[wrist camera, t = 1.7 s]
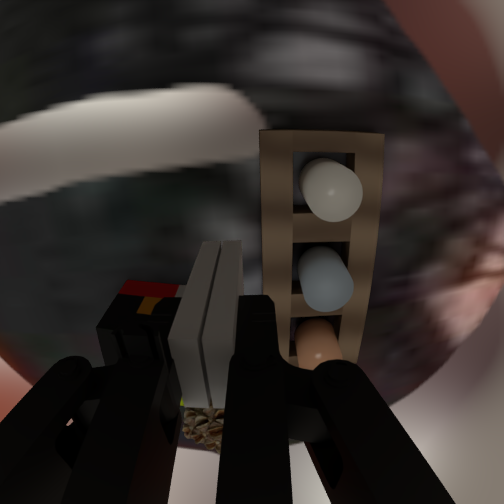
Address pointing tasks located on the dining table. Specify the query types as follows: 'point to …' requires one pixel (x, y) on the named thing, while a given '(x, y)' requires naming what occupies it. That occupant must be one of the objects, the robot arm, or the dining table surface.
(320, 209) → the offwhite cap
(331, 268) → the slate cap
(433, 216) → the dining table surface
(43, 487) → the robot arm
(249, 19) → the dining table surface
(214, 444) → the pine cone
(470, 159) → the dining table surface
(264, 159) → the button board
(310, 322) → the terracotta cap
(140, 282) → the puzzle toy
